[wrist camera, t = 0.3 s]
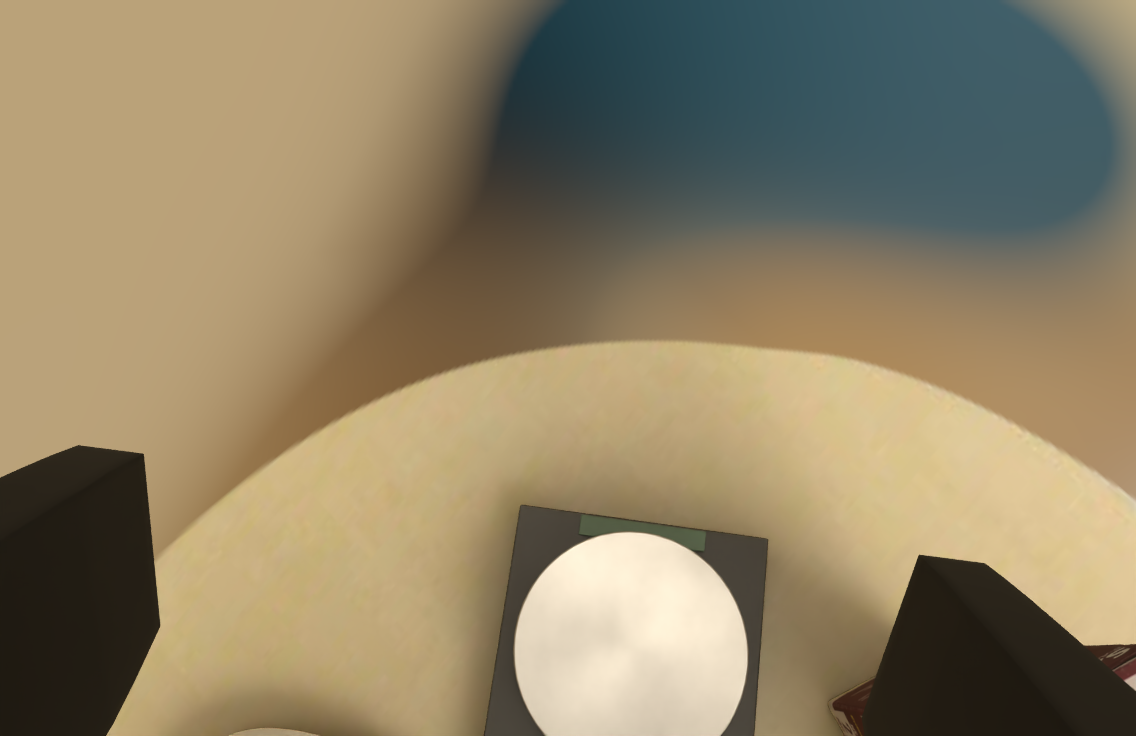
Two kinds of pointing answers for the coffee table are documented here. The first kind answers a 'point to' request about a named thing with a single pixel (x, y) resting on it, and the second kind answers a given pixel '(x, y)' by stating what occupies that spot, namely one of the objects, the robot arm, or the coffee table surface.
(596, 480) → the coffee table surface
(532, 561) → the scale
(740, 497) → the coffee table surface
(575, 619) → the scale pan
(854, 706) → the supplement box
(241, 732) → the computer mouse
